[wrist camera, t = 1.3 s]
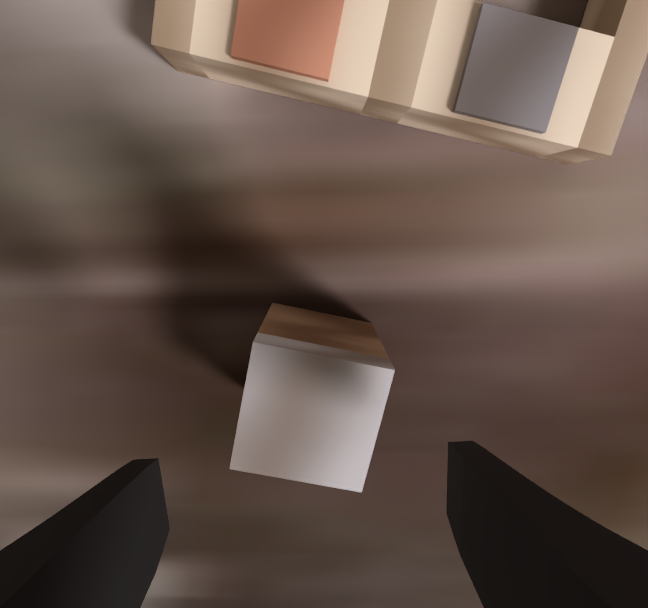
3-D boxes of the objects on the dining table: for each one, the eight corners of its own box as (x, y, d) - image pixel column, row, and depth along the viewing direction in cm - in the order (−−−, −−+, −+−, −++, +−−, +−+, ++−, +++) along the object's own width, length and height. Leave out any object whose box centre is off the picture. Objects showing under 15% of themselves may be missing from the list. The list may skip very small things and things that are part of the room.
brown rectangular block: (371, 322, 18) (394, 370, 13) (349, 412, 19) (361, 492, 13) (272, 302, 18) (252, 342, 12) (254, 394, 19) (229, 468, 13)
